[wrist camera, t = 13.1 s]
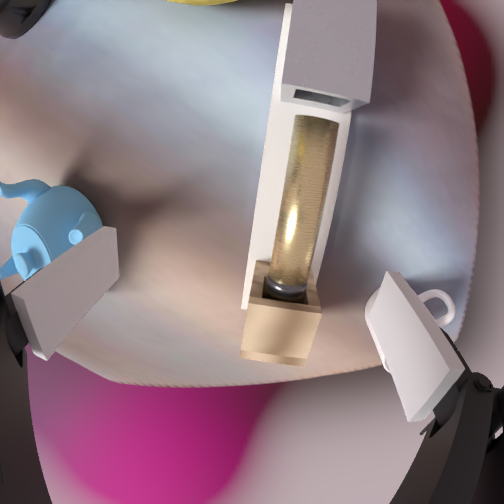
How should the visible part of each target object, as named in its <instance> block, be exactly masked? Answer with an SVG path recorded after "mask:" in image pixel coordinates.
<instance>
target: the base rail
mask: <svg viewBox="0 0 504 504" xmlns="http://www.w3.org/2000/svg"><path fill="white" fill-rule="evenodd" d="M292 6H293V4H291V3H286V4H285V11H284V18H283V24H282V31H281V37H280V44H279V51H278V57H277V64H276V71H275V78H274V84H273V91H272V98H271V105H270V111H269V118H268V125H267V132H266V139H265V145H264V152H263V159H262V166H261V173H260V180H259V186H258V193H257V200H256V207H255V214H254V221H253V228H252V235H251V242H250V249H249V256H248V263H247V270H246V277H245V284H244V291H243V298H242V305H241V309H245V310H247V307H248V301H249V295H250V290H251V285H252V279H253V274H254V269H255V264H256V260H259V261H265V262H271V257H272V251H273V245H274V240H275V234H276V228H277V222H278V217H279V211H280V205H281V199H282V193H283V187H284V181H285V175H286V168H287V162H288V156H289V149H290V143H291V137H292V130H293V124H294V117H295V115H308V116H315V117H320V118H324V119H328V120H332V121H335V122H337V123H339V130H338V136H337V142H336V148H335V154H334V160H333V165H332V171H331V176H330V181H329V187H328V192H327V197H326V202H325V206H324V211H323V216H322V221H321V225H320V230H319V234H318V239H317V243H316V247H315V252H314V256H313V260H312V264H311V268H310V269H312V272H313V276H314V280H315V284H316V282H317V278H318V274H319V271H320V267H321V263H322V259H323V255H324V251H325V247H326V243H327V238H328V234H329V230H330V226H331V221H332V217H333V212H334V207H335V203H336V198H337V193H338V188H339V183H340V178H341V173H342V168H343V162H344V157H345V151H346V145H347V139H348V133H349V126H350V120H351V113H352V110H350V111H348V112H346V113H343V114H342V113H337V112H333V111H329V110H324V109H319V108H314V107H309V106H304V105H299V104H293V103H287V102H280V97H281V82H282V75H283V68H284V62H285V55H286V48H287V41H288V34H289V27H290V20H291V13H292Z"/></svg>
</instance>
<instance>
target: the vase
mask: <svg viewBox="0 0 504 504" xmlns="http://www.w3.org/2000/svg"><path fill="white" fill-rule="evenodd" d="M166 1H171V2H177V3H183V4H190V5H196V6H199V5H218V4H223V3H229V2H234V1H237V0H166Z"/></svg>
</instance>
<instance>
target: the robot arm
mask: <svg viewBox="0 0 504 504" xmlns="http://www.w3.org/2000/svg"><path fill="white" fill-rule="evenodd" d="M50 1H51V0H0V35H1V36H3V37H5V38H10V39H15V38H18V37H20V36H21V35H23V34H24V33H25V32H27V31H28V30H29V29H30V28H31V27H32V26H33V25H34V23H35V22H36V21H37V20H38V19H39V17H40V16H41V15H42V13H43V12H44V11H45V9H46V8H47V6H48V4H49V3H50ZM119 278H120V274H119V262H118V249H117V230H116V228H113V227H106V226H103V227H102V228H100V229H99V230H97V231H96V232H94V233H93V234H91V235H89V236H88V237H86V238H85V239H83V240H82V241H80V242H79V243H77V244H76V245H75V246H73V247H72V248H70V249H69V250H67V251H66V252H64V253H63V254H62V255H60V256H59V257H57V258H56V259H55V260H53V261H52V262H51V263H49V264H48V265H46V266H45V267H43V268H41V269H39V270H38V271H36V272H35V273H34V274H32V276H30V277H29V278H27V279H26V281H23V282H22V283H21V284H20V285H18V286H17V287H16V288H15V289H14V290H12V291H11V292H10V293H9V294H7V295H6V296H5V295H4V292H3V289H2V286H1V282H0V504H52V502H51V499H50V496H49V493H48V489H47V487H46V483H45V480H44V477H43V472H42V469H41V465H40V461H39V456H38V453H37V448H36V442H35V437H34V431H33V425H32V418H31V412H30V411H31V410H30V402H29V391H28V375H27V353H26V350H25V348H24V347H25V346H26V345H27V344H28V343H29V344H30V346H31V349H32V351H33V353H34V354H35V355H37V356H39V357H41V358H42V359H44V360H46V361H47V360H48V359H49V358H50V356H51V355H52V354H53V353H54V351H55V350H56V349H57V348H58V347H59V345H60V344H61V343H62V342H63V340H64V339H65V338H66V337H67V336H68V334H69V333H70V332H71V331H72V330H73V329H74V327H75V326H76V325H77V324H78V323H79V322H80V320H81V319H82V318H83V317H84V316H85V315H86V314H87V312H88V311H89V310H90V309H91V308H92V307H93V306H94V305H95V304H96V302H97V301H98V300H99V299H100V298H101V297H102V296H103V295H104V294H105V293H106V292H107V290H108V289H109V288H110V287H111V286H112V285H113V284H114V283H115V282H116V281H117V280H118V279H119ZM368 318H369V320H370V322H371V325H372V327H373V329H374V332H375V334H376V336H377V339H378V341H379V344H380V346H381V349H382V351H383V354H384V356H385V359H386V361H387V364H388V367H389V369H390V372H391V375H392V377H393V380H394V383H395V385H396V388H397V391H398V394H399V397H400V399H401V402H402V405H403V408H404V411H405V414H406V417H407V420H408V422H415V421H422V420H424V419H425V418H426V417H427V416H428V415H429V414H430V413H431V412H432V410H433V411H434V414H435V418H434V419H433V420H432V421H431V422H430V423H429V424H428V425H427V426H426V427H425V428H424V429H423V430H422V432H421V433H420V435H422V434H423V433H424V432H426V431H427V432H426V435H425V437H424V440H423V442H422V444H421V446H420V448H419V451H418V453H417V455H416V457H415V459H414V461H413V463H412V465H411V467H410V469H409V471H408V473H407V474H406V477H405V478H404V480H403V482H402V484H401V485H400V487H399V489H398V490H397V492H396V494H395V496H394V497H393V499H392V501H391V502H390V504H504V386H503V387H502V388H501V389H499V388H494V387H493V385H492V383H491V381H490V380H489V379H488V378H487V377H486V376H484V375H483V374H480V373H478V372H473V373H472V372H471V370H470V369H469V367H468V365H467V364H466V362H465V360H464V359H463V357H462V355H461V354H460V352H459V351H457V348H456V346H455V344H453V341H452V340H451V338H450V337H449V335H448V334H447V333H446V332H445V331H444V330H442V329H441V328H440V327H439V326H438V325H437V323H436V322H435V320H434V319H433V317H432V316H431V315H430V313H429V312H428V310H427V309H426V308H425V306H424V305H423V303H422V302H421V301H420V299H419V298H418V296H417V295H416V294H415V292H414V291H413V290H412V288H411V287H410V286H409V284H408V283H407V282H406V280H405V279H404V278H403V277H402V275H401V274H400V273H398V272H392V271H386V273H385V276H384V279H383V282H382V284H381V287H380V290H379V292H378V295H377V297H376V300H375V302H374V305H373V307H372V310H371V312H370V315H369V317H368ZM502 426H503V433H502V434H501V435H500V436H499V437H498V438H496V439H495V433H496V432H497V431H498V430H499V429H500V428H501V427H502Z"/></svg>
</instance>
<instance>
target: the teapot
mask: <svg viewBox="0 0 504 504" xmlns="http://www.w3.org/2000/svg"><path fill="white" fill-rule="evenodd" d="M0 196H2V197H4V198H14V197H22V198H24V199H25V200H27V201H28V202H29V204H28V205H27V207H26V208H25V209H24V211H23V212H22V214H21V216H20V218H19V220H18V222H17V224H16V226H15V228H14V231H13V234H12V239H11V250H12V257H11V258H10V259H9V260H8V261H7V262H6V263H5V264H4V265H3V266H2V267H0V280H2V279H4V278H6V277H8V276H11V275H14V274H17V273H20V275H21V276H22V278H23V279H24V280H25V281H26V279H27V278H29V277H30V276H32V274H34V273H35V272H36V271H38V270H39V269H41V268H43V267H45V266H46V265H48V264H49V263H51V262H52V261H53V260H55V259H56V258H57V257H59V256H60V255H62V254H63V253H64V252H66V251H67V250H69V249H70V248H72V247H73V246H75V245H76V244H77V243H79V242H80V241H82V240H83V239H85V238H86V237H88V236H89V235H91V234H93V233H94V232H96V231H97V230H99V229H100V228H102V227H103V224H102V221H101V219H100V217H99V215H98V213H97V211H96V209H95V208H94V206H93V205H92V204H91V202H90V201H89V200H88V199H87V198H86V197H85V196H84V195H83V194H82V193H80V192H79V191H77V190H76V189H74V188H71V187H68V186H61V185H60V186H54V187H50V186H48V185H47V184H46V183H44V182H42V181H40V180H36V179H32V180H26V181H23V182H20V183H16V184H4V183H1V182H0Z"/></svg>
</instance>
